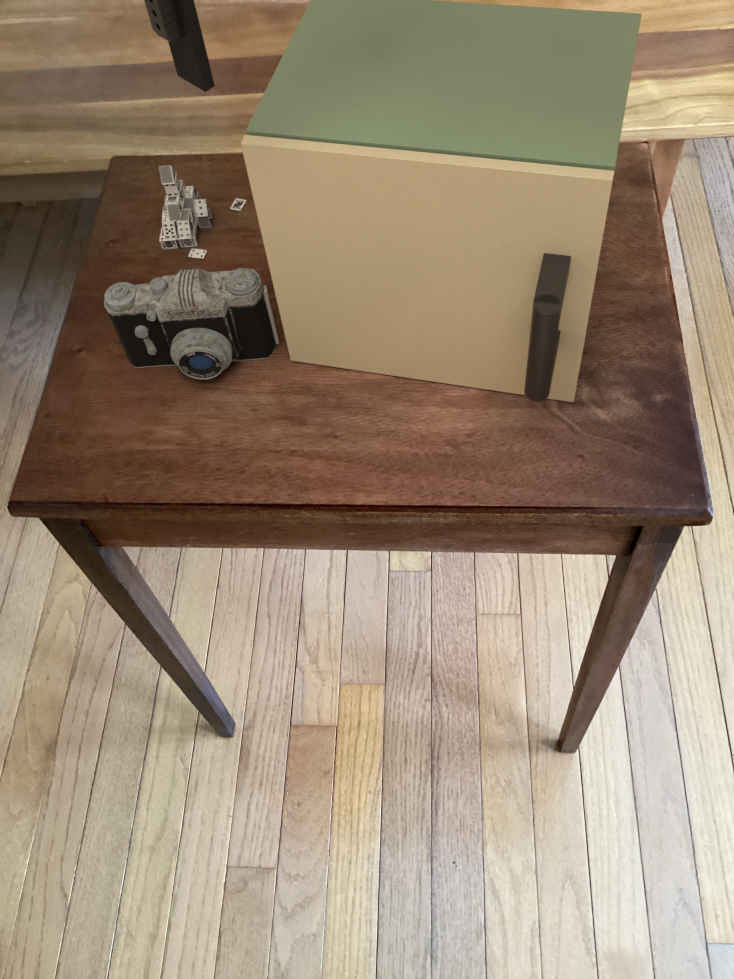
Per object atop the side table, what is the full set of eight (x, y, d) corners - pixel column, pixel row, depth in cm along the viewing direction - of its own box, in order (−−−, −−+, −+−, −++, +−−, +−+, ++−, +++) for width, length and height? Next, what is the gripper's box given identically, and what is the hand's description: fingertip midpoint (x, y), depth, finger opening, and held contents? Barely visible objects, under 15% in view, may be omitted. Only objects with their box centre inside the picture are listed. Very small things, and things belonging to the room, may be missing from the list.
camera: (121, 394, 86) (85, 321, 78) (130, 340, 90) (96, 264, 82) (278, 383, 86) (258, 308, 77) (280, 329, 89) (262, 251, 81)
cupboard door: (564, 457, 79) (601, 242, 58) (271, 410, 84) (212, 198, 64) (575, 394, 82) (614, 170, 62) (293, 352, 87) (244, 134, 67)
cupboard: (575, 392, 82) (615, 165, 62) (294, 351, 88) (245, 130, 67) (600, 251, 91) (641, 13, 71) (343, 222, 97) (313, -8, 76)
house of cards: (242, 256, 95) (226, 196, 89) (159, 262, 96) (137, 203, 89) (247, 197, 100) (232, 136, 94) (168, 203, 101) (148, 143, 94)
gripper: (338, -512, 47) (371, -73, 65) (-87, -350, 38) (86, 103, 56) (449, -496, 44) (451, -39, 61) (13, -316, 35) (162, 152, 53)
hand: (277, 29), depth 59 cm, fingers open, 13 cm apart
